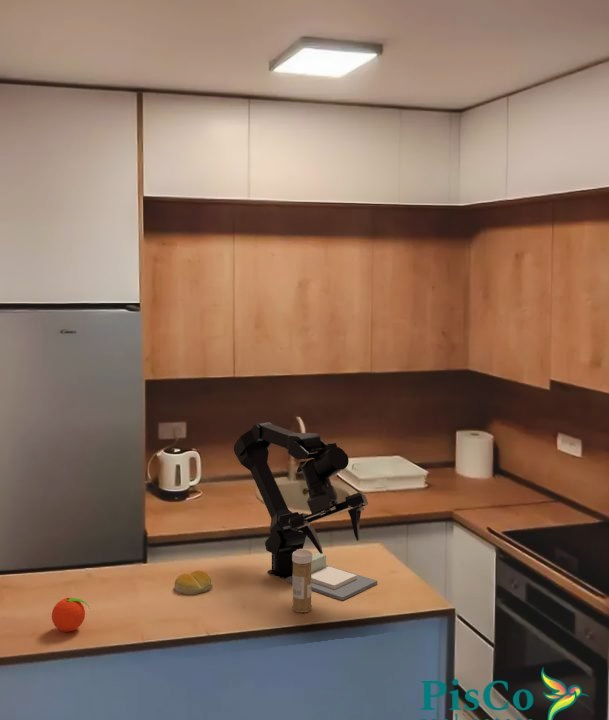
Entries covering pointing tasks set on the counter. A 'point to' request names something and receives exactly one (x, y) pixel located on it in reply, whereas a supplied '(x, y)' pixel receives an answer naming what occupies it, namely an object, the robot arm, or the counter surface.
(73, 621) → the clementine
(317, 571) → the board
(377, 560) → the counter surface
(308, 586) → the sprinkles bottle
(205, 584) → the bread roll
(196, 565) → the counter surface
